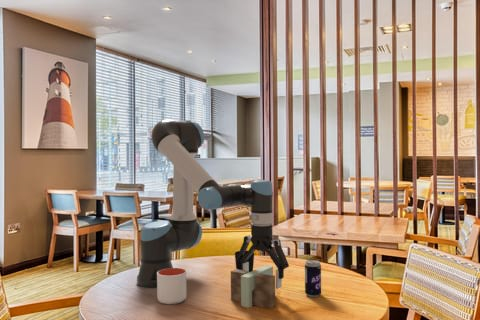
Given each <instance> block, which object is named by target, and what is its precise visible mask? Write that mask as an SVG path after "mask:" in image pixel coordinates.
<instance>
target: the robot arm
mask: <svg viewBox="0 0 480 320" xmlns="http://www.w3.org/2000/svg"><path fill="white" fill-rule="evenodd" d="M150 137H151V138H150V139H151V142H152V146H153V147H154V149H155V150H156V151H157V152H158V154H160V155H161V156H165V157H166V158H167V160H168V161H169V162H170V163H171V164H172V166H173V168H172V169H173V171H172V174H173V175H172V176H173V178H172V179H173V183H172V186H173V187H172V189H173V190H172V213H171V215H169V217H168V221H167V220H159V221H151V222H147V223H145V224H144V225H143V226H142V227H141V228H140V237H139V238H140V259H141V261H140V266H139V269H138V274H137V277H136V284H137V285H138V286H140V287H144V288H157V272H158V271H160V270H162V269H167V268H174V267H173V263H172V256H171V255H172V253H174V252H178V251H183V250H188V249H189V250H190V249H192V248H194V247H196V246H197V245H198V244H199V243H200V241H201V240H202V237H203V228H202V226H201V222H199V220H197V218H198V217H197V216H196V215H195V214H194V192H196V194H197V202H198V204H199V206H200V207H201V208H202V209H203V210H218V209H224V208H230V207H238V206H244V207H245V206H246V207H247V206H248V207H250V222H251V225H250V234H251V236H250V235H249V234H247V235H245V236H244V237H243V242H242V245H241V247H240V249H239V250H238V251H239V253H238V256H237V258H236V259H237V261H238V260H239V261H240V262H241V270H244V271H249V262H246V261H247V260H248V259H249V258H250V256H251V255H252V254H253V253H254V254H255V251H257V252H258V251H259V252H260V251H261V252H265V253H266V254H267V255H268V256H269V258H270V259H271V260H272V262H273V263H274V265H275V266H276V269H275V290H278V289H281V288H282V285H283V284H282V280H283V279H284V277H285V275H284V273H285V269H287V268H289V267H290V265H289V262H288V260H287V258H286V254H285V252H284V250H283V248H282V243H281V242H282V241H281V240H280V239H279V238H278V239H273V193H274V192H273V182H272V181H271V180H268V179H256V180H255V179H254V180H252V181H251V182H250V185H249V184H239V183H230V184H228V185H220V184H219V183H218V182H216V180H215V179H214V178H213V177H212V176H211V175H210V174H209V172H208V171H207V170H206V169H205V168H204V167H203V166H202V165H201V164H200V162H199V161H198V160H196V158H195V157H196V156H197V155H198V154H199V149H200V148H202V146H203V144H204V141H205V133H204V130H203V128H202V126H201V125H200V124H199V123H198V122H196V121H192V120H183V119H182V120H180V119H179V120H178V119H163V120H160V121H159V122H157V123H156V124H155V125H154V127H152V131H151V136H150ZM250 243H251V246H250V247H249V245H250ZM248 248H249V249H248ZM247 249H248V250H247ZM246 251H248V252H247V253H246V254H245V252H246ZM244 254H245V255H244ZM243 256H244V257H243Z"/></svg>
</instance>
